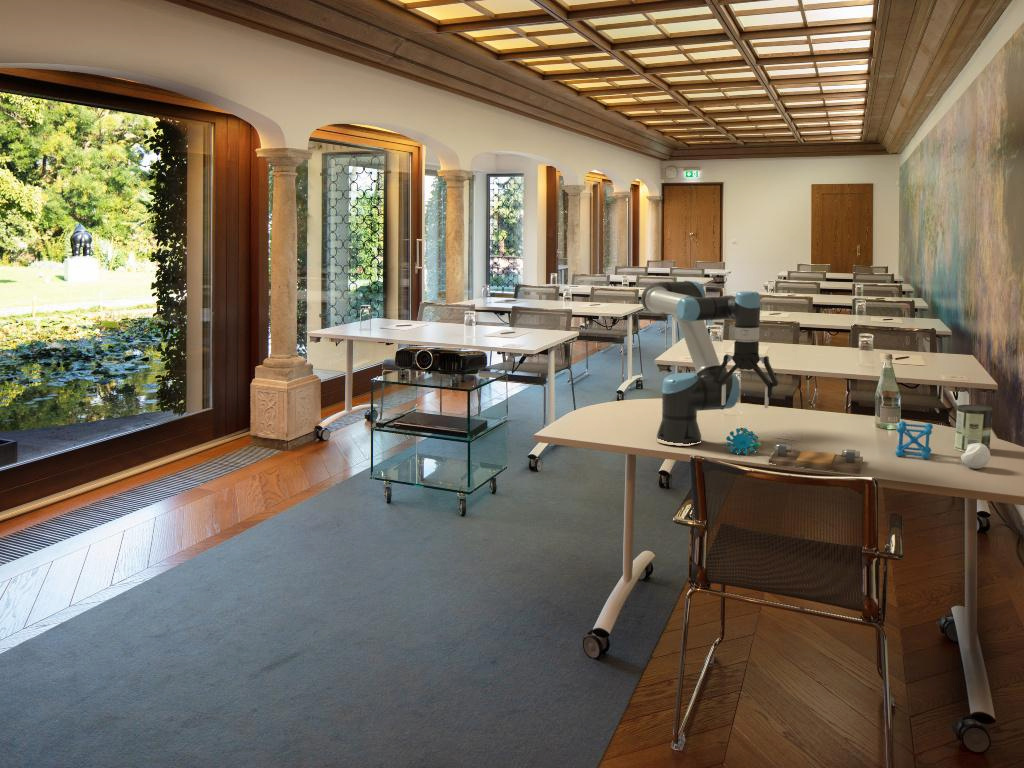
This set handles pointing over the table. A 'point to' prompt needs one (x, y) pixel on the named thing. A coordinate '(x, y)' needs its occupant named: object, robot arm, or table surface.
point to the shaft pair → (847, 453)
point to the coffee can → (973, 426)
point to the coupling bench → (817, 461)
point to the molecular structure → (914, 439)
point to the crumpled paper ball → (976, 456)
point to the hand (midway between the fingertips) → (744, 406)
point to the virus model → (743, 441)
